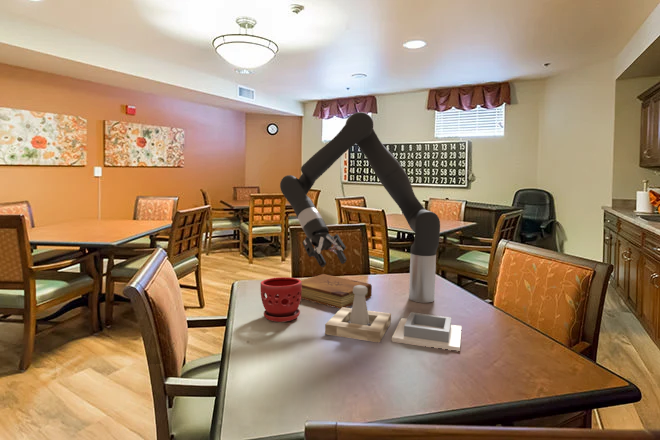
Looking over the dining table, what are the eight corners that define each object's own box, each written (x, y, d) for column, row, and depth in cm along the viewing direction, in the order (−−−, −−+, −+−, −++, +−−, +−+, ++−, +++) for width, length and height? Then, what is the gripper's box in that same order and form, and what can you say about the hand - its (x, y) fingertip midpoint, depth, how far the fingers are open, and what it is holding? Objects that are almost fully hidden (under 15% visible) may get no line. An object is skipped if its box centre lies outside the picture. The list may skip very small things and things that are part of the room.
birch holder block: (342, 316, 132) (342, 307, 131) (390, 322, 126) (391, 313, 126) (325, 334, 117) (325, 324, 116) (379, 342, 111) (379, 332, 111)
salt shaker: (367, 332, 118) (368, 289, 117) (348, 331, 119) (349, 288, 118) (369, 325, 124) (370, 284, 122) (351, 323, 125) (352, 282, 124)
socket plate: (401, 321, 127) (401, 308, 127) (461, 329, 121) (462, 316, 121) (391, 341, 112) (392, 326, 112) (459, 351, 106) (460, 336, 106)
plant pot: (308, 314, 133) (309, 278, 132) (288, 327, 122) (288, 288, 120) (275, 308, 139) (275, 273, 138) (252, 320, 127) (252, 283, 126)
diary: (371, 298, 153) (371, 283, 153) (341, 311, 139) (342, 294, 138) (324, 286, 167) (324, 273, 167) (293, 297, 153) (293, 282, 152)
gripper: (300, 218, 129) (322, 259, 121) (334, 216, 138) (356, 254, 131) (290, 232, 133) (311, 273, 126) (324, 229, 143) (345, 267, 135)
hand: (334, 263), depth 128 cm, fingers open, 8 cm apart
